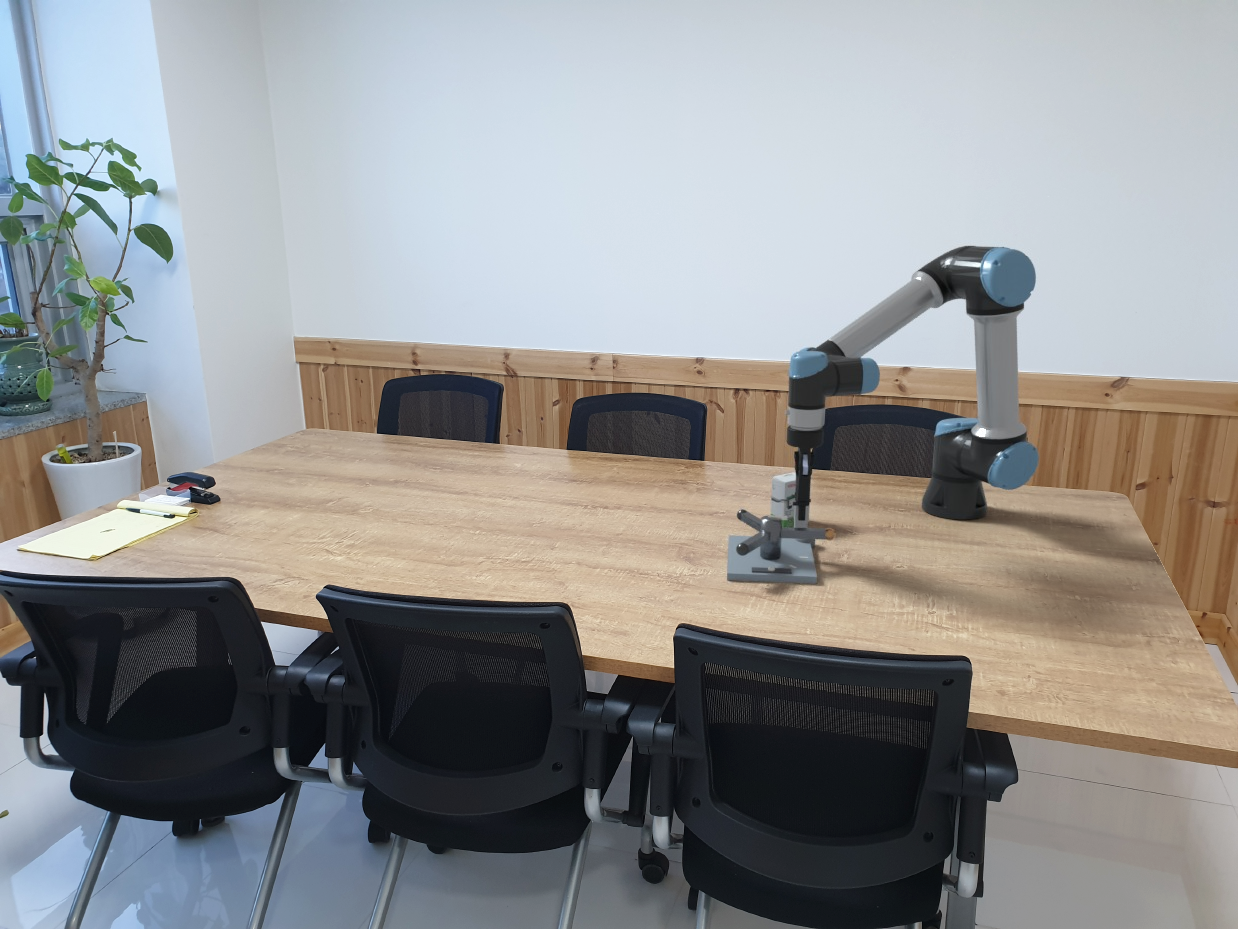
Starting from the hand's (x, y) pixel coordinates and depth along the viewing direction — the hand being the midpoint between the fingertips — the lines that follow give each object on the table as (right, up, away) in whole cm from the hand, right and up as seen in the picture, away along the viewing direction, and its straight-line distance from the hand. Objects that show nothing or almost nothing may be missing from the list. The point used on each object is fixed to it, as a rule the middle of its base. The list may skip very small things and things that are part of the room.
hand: (800, 532), depth 196 cm
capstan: (-4, -5, -3) cm, 7 cm away
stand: (-7, -6, -1) cm, 9 cm away
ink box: (+2, 0, +22) cm, 22 cm away
